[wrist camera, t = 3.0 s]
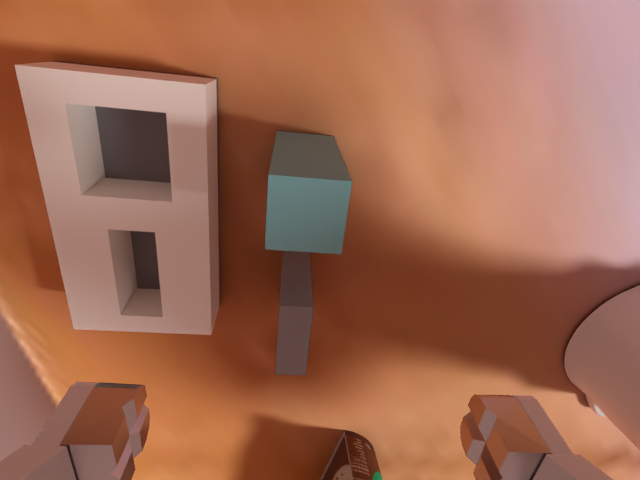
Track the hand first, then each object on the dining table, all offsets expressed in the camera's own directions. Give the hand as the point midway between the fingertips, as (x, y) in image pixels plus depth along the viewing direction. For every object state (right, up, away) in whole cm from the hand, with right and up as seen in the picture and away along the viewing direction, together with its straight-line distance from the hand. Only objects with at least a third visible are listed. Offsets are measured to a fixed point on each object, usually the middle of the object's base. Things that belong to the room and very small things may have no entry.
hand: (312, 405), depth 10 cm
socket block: (-12, +7, +19) cm, 24 cm away
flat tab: (-2, +2, +23) cm, 23 cm away
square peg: (-1, +10, +18) cm, 21 cm away
